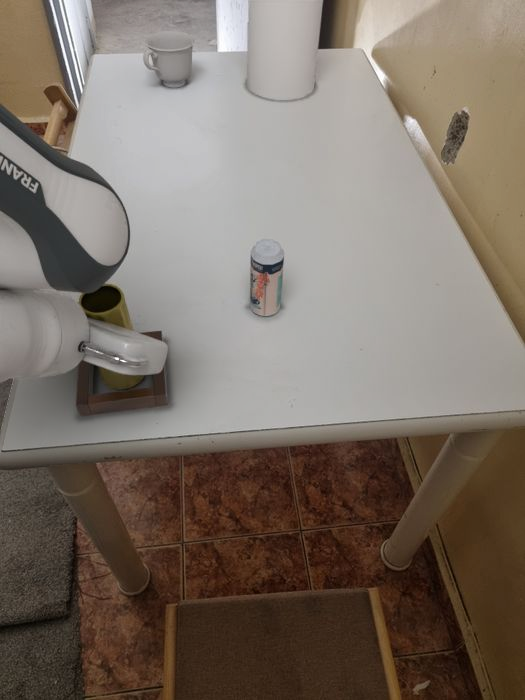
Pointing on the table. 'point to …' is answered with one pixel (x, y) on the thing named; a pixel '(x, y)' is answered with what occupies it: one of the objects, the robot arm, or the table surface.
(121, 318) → the vase
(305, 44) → the cylinder
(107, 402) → the brown wooden square frame
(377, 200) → the table surface
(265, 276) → the beer can
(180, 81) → the teacup
